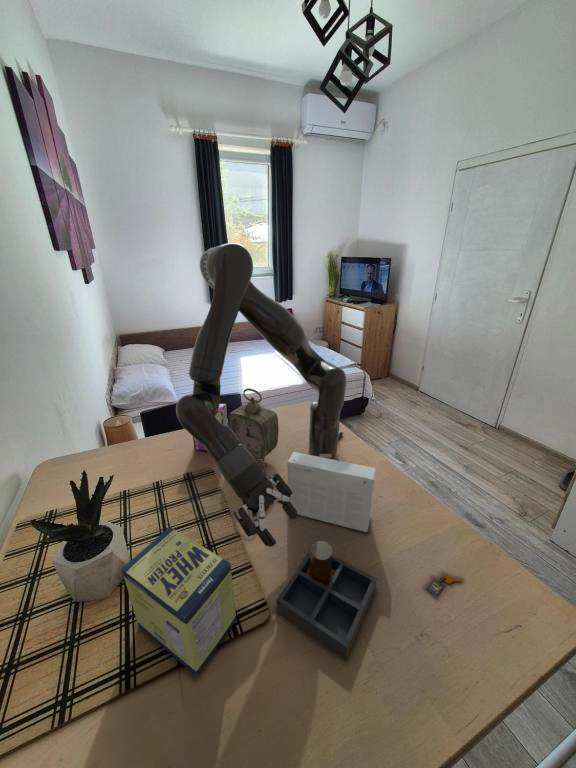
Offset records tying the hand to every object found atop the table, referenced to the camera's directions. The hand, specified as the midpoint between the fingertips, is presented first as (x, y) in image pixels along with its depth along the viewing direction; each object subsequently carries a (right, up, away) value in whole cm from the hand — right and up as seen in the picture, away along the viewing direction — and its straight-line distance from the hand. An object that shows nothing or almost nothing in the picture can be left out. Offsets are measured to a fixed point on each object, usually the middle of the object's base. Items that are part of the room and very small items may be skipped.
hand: (284, 530), depth 70 cm
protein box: (-18, -13, -9) cm, 24 cm away
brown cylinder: (+7, -9, -2) cm, 12 cm away
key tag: (+33, -10, -3) cm, 35 cm away
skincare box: (+11, -3, +15) cm, 19 cm away
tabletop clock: (-10, +7, +37) cm, 39 cm away
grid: (+9, -11, -6) cm, 15 cm away
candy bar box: (-26, +9, +42) cm, 50 cm away
